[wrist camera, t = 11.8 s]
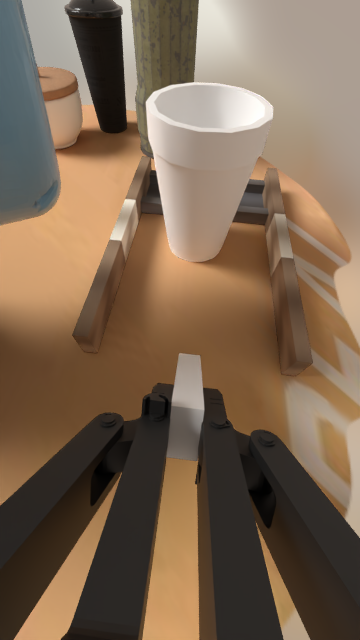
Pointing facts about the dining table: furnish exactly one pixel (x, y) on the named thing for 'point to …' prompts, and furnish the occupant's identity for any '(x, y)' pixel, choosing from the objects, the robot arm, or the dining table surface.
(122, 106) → the drinking cup
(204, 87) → the foam cup
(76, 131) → the lidded jar
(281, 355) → the lane
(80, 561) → the dining table surface
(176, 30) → the thermos
